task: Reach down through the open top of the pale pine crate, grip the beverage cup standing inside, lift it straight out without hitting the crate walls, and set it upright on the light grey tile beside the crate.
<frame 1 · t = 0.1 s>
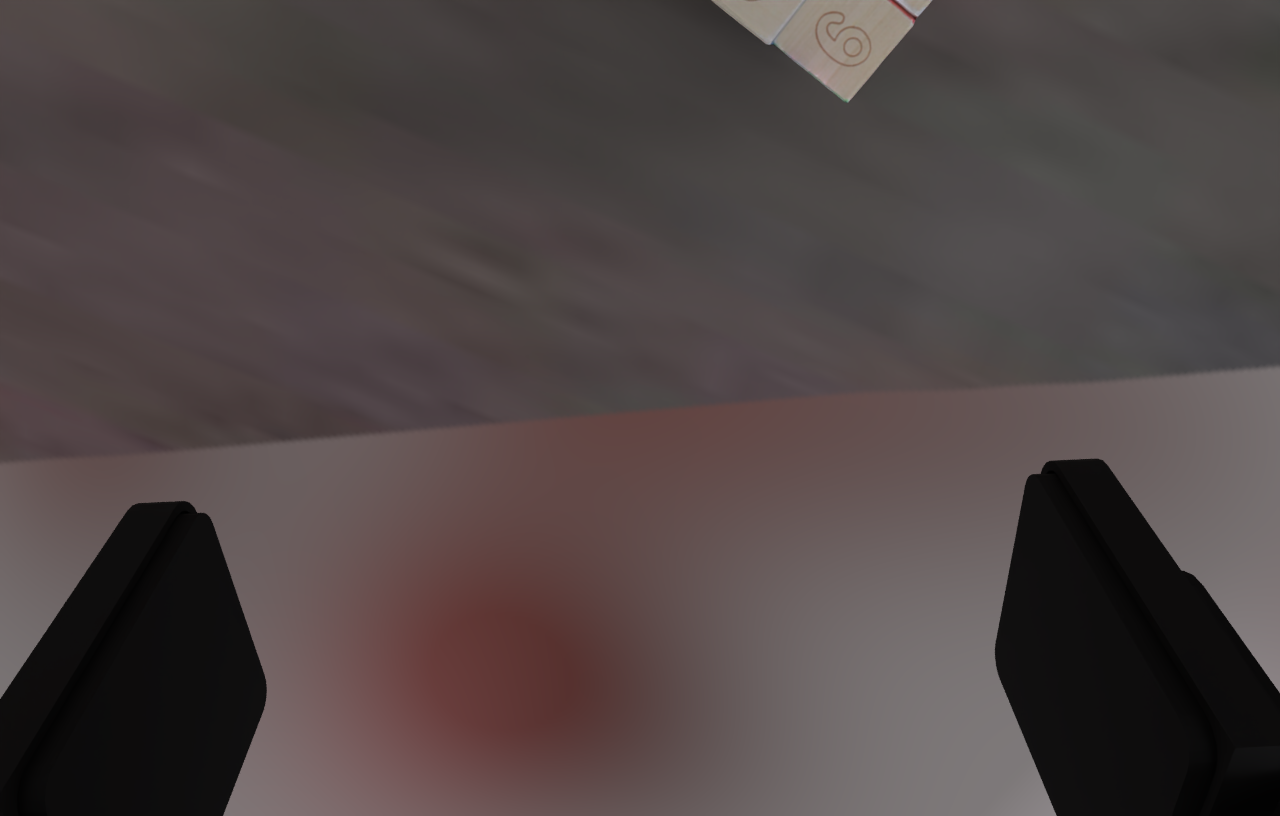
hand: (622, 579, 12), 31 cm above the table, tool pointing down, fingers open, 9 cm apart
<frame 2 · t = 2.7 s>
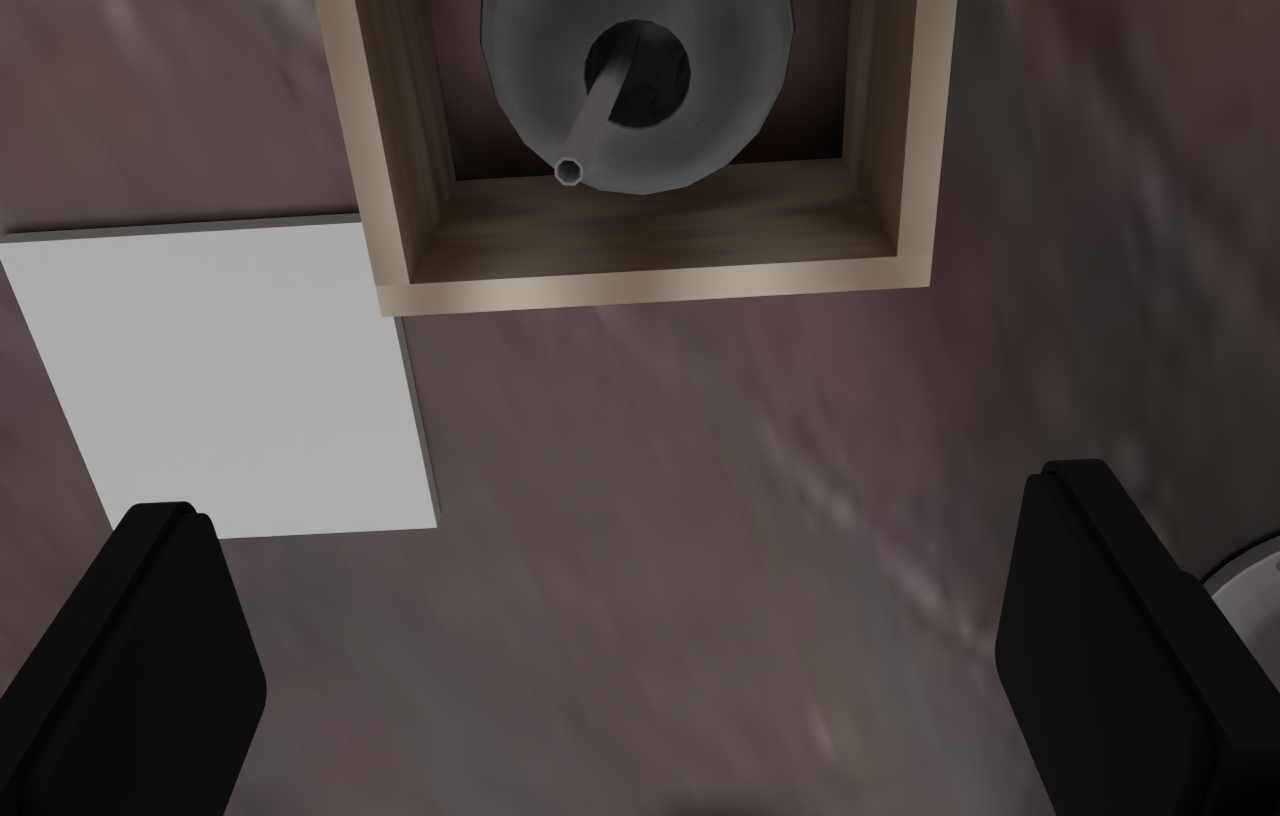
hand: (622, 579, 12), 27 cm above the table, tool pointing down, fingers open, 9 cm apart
tile: (242, 385, 42), on the table
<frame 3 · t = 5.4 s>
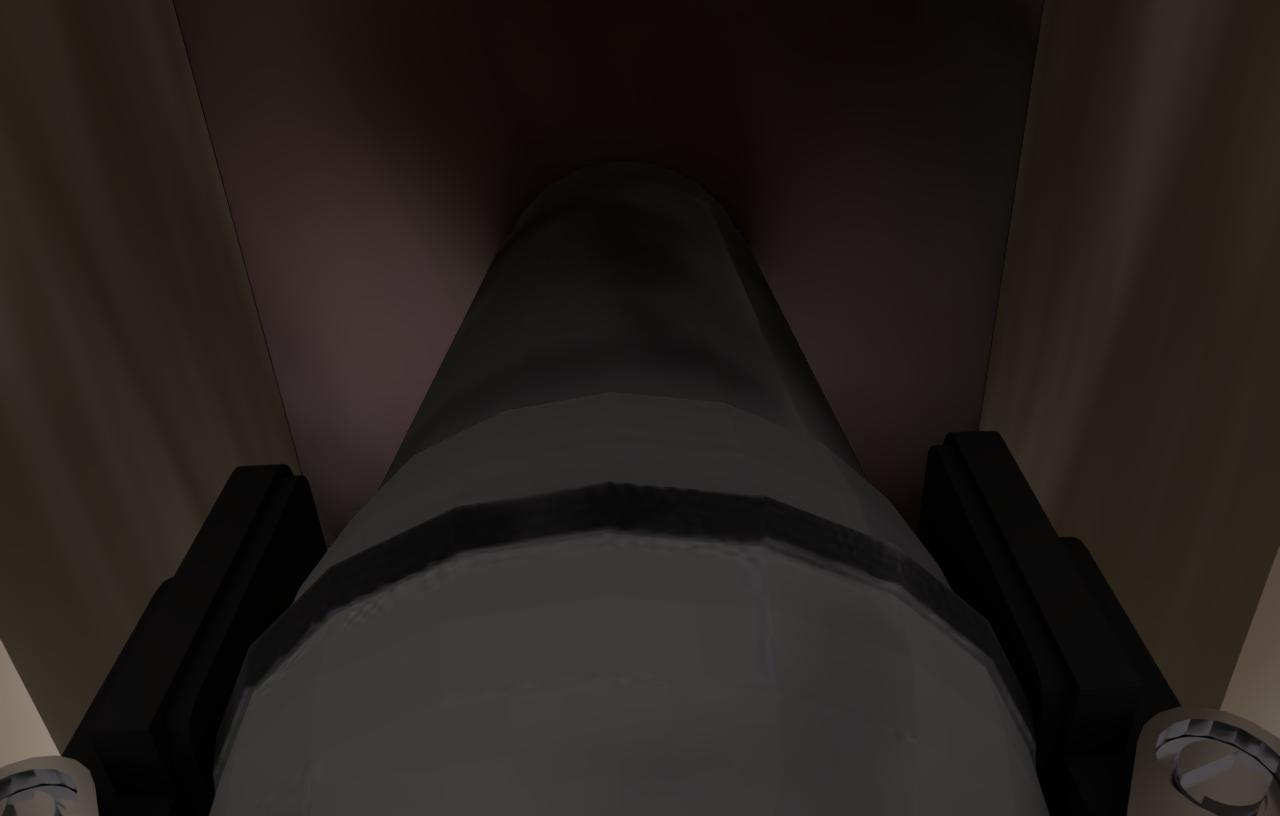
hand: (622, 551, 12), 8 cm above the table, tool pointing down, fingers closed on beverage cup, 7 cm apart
crate: (626, 279, 19), on the table
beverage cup: (625, 274, 19), resting in crate, touching gripper
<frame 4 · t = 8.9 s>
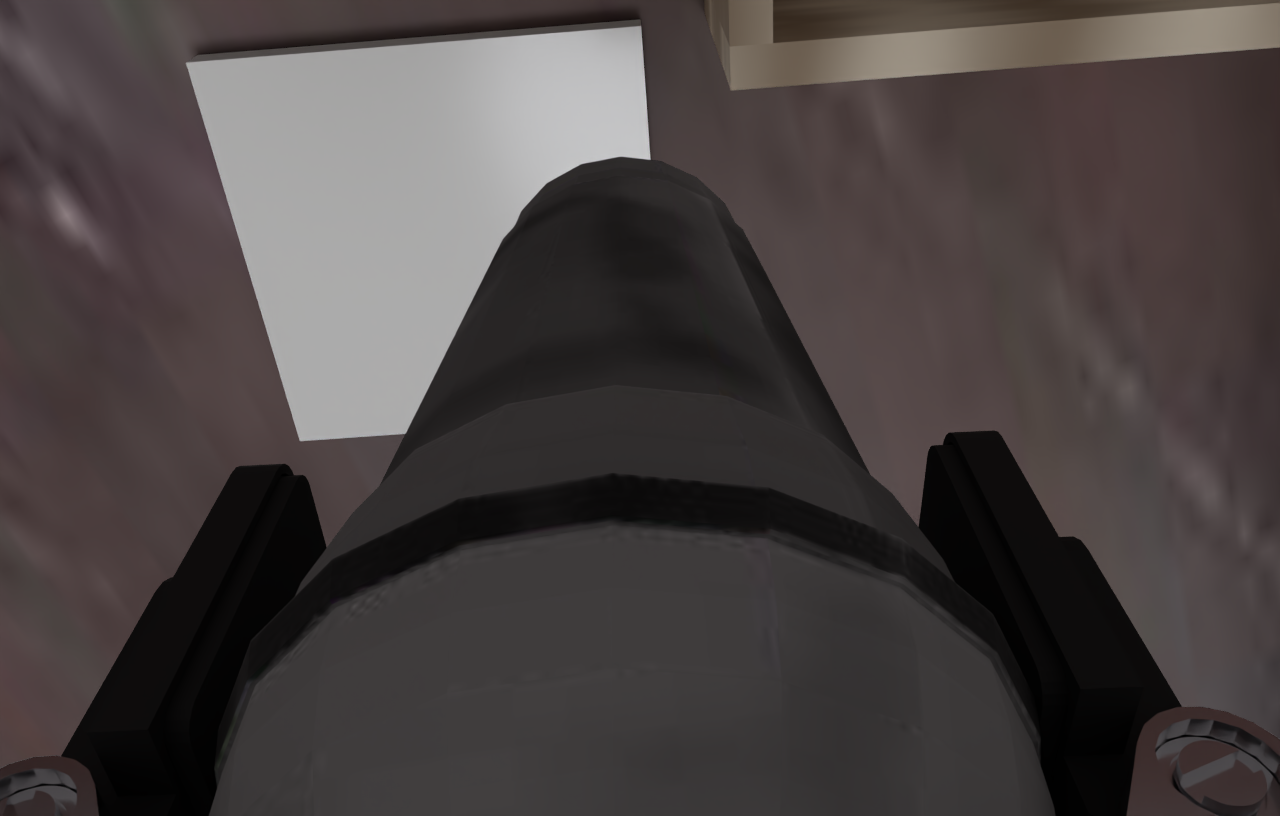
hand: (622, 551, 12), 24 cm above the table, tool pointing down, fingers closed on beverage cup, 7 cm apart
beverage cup: (626, 271, 19), point 16 cm above the table, touching gripper
tile: (455, 245, 36), on the table
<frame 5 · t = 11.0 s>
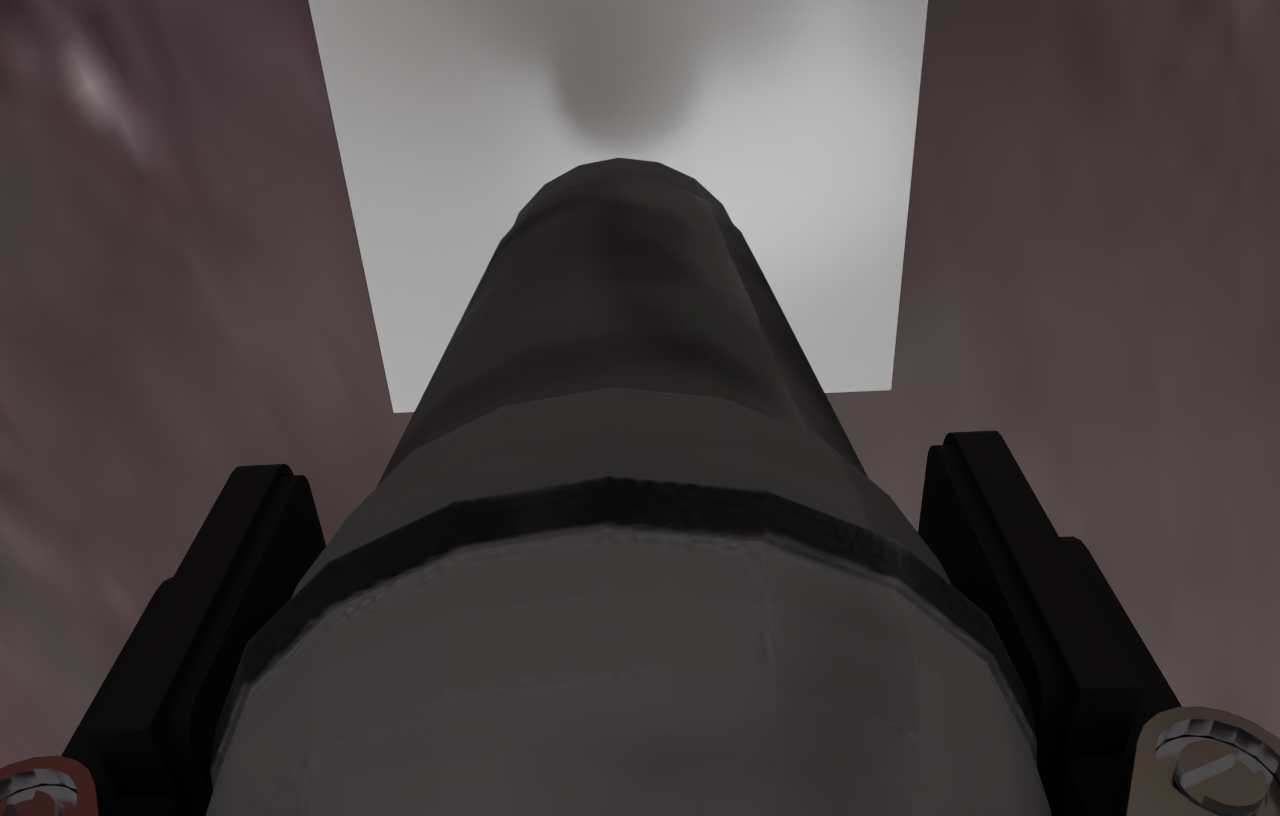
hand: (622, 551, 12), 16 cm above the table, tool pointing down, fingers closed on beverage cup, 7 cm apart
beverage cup: (624, 272, 19), point 8 cm above the table, touching gripper
tile: (627, 145, 26), on the table
when the fingers open (10 cm above the table, at t = 12.7 s): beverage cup drops 1 cm, resting on tile.
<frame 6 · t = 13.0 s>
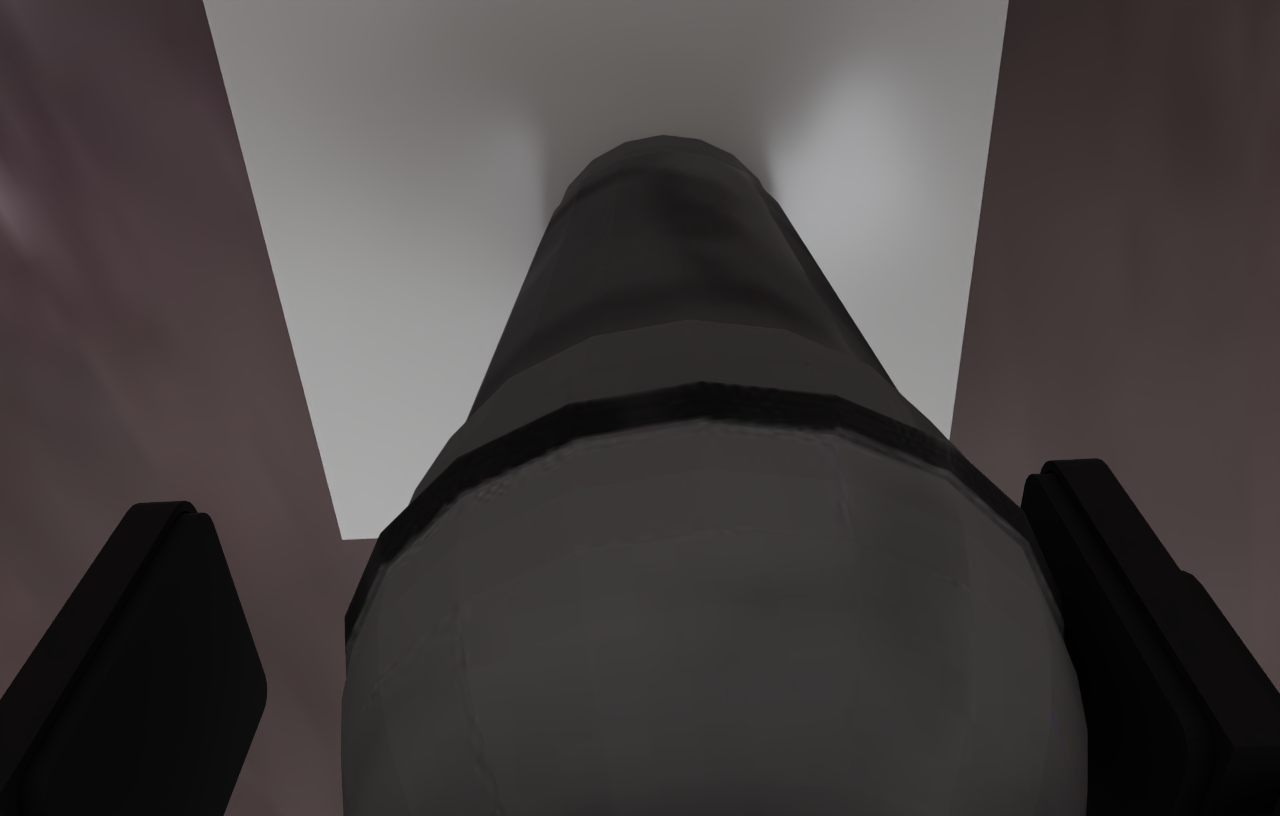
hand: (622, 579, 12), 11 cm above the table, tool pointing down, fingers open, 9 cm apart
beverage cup: (664, 244, 20), point 1 cm above the table, touching tile
tile: (622, 228, 21), on the table
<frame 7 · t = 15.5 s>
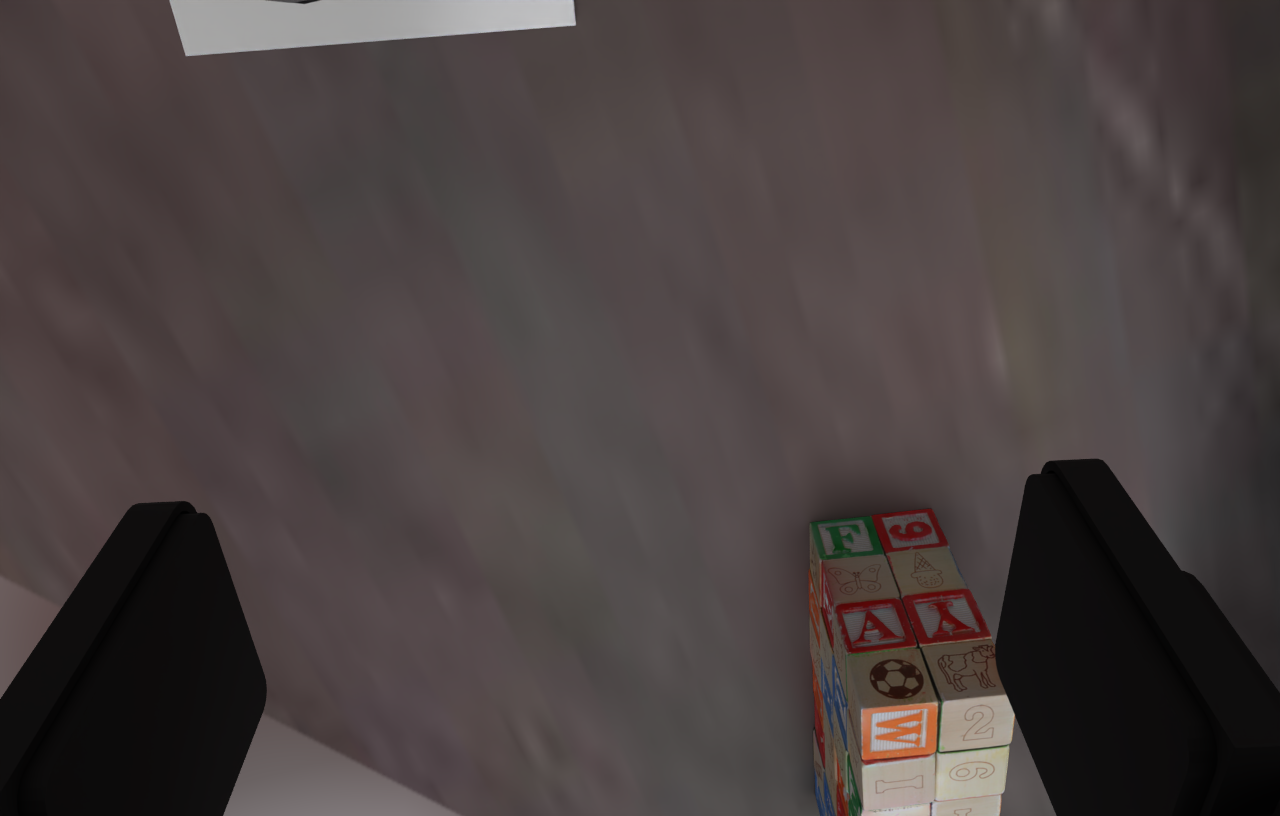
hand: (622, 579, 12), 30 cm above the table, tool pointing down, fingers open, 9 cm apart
stack of blocks: (865, 661, 56), on the table
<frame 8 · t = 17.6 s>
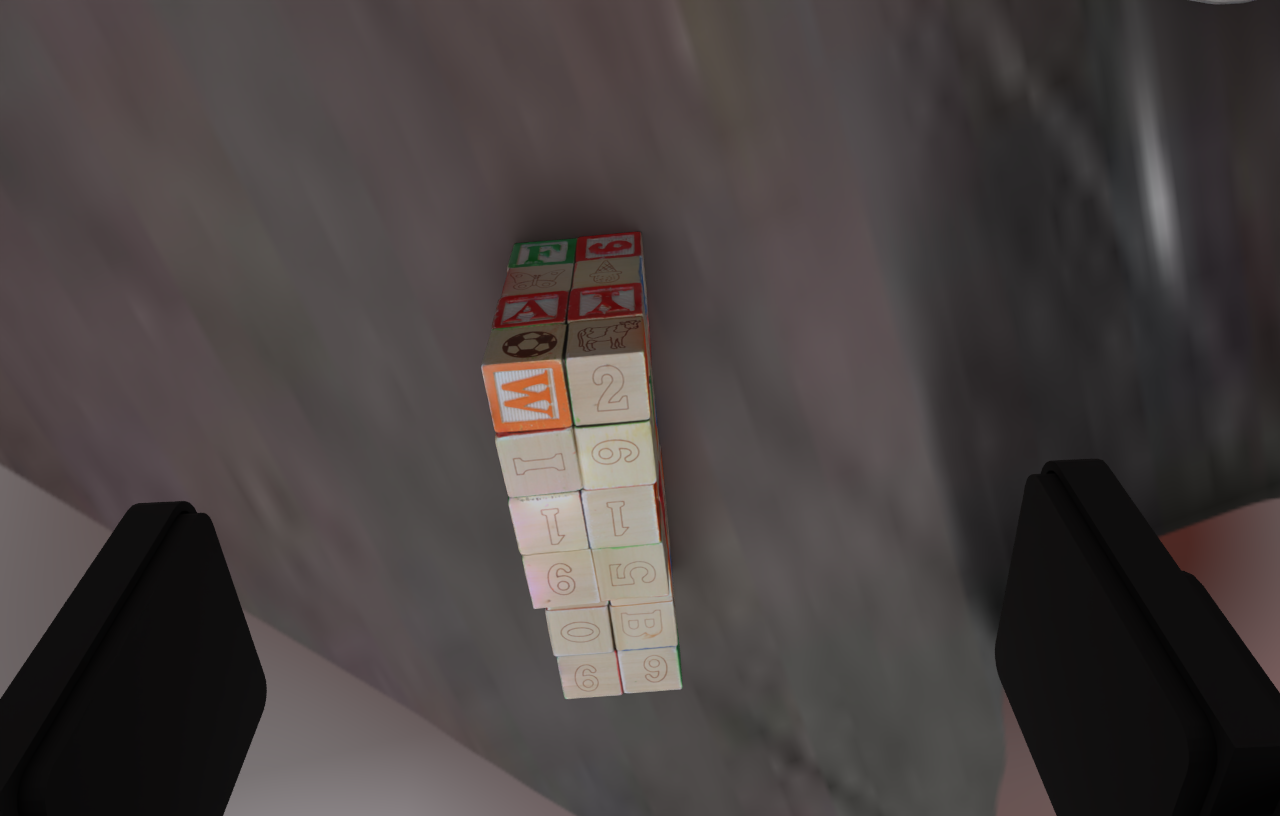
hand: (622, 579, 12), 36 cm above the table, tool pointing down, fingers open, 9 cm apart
stack of blocks: (601, 419, 54), on the table
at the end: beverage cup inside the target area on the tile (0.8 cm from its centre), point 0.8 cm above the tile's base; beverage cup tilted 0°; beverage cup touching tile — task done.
